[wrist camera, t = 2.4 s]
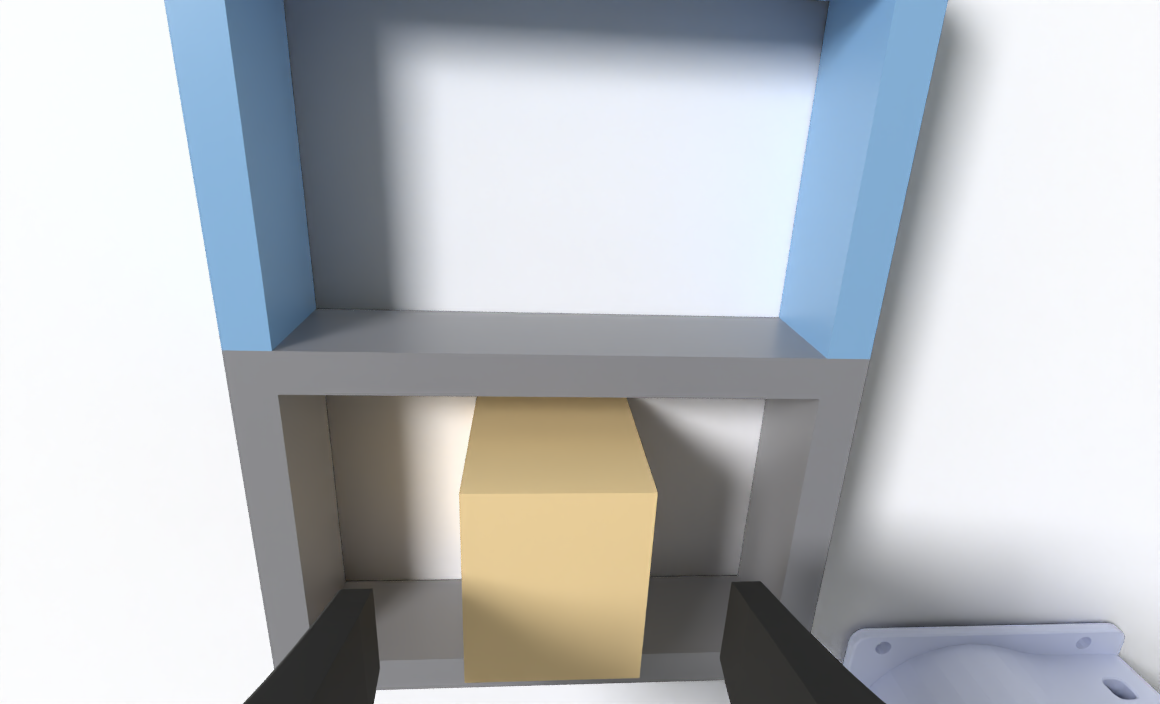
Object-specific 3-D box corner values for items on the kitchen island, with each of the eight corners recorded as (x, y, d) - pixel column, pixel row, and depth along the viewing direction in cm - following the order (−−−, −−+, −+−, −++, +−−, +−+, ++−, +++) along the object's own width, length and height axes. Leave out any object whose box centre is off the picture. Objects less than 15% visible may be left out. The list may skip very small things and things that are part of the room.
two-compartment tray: (881, -47, 14) (966, -84, 12) (764, 600, 21) (800, 677, 18) (223, -92, 13) (140, -145, 10) (314, 608, 20) (278, 692, 17)
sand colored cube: (624, 391, 18) (657, 493, 13) (613, 541, 20) (639, 677, 15) (478, 390, 17) (459, 493, 13) (480, 543, 19) (464, 682, 15)
